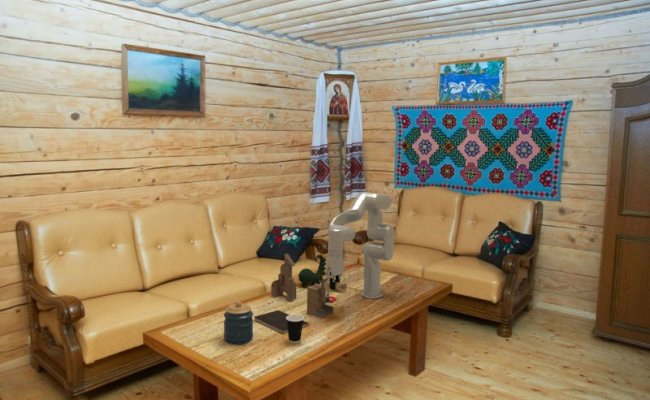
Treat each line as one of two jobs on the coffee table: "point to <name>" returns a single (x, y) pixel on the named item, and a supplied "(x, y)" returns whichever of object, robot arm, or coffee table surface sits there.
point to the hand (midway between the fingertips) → (334, 288)
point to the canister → (238, 324)
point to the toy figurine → (309, 277)
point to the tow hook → (329, 297)
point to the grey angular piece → (317, 302)
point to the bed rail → (338, 286)
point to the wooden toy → (285, 280)
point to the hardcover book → (276, 321)
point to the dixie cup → (294, 327)
